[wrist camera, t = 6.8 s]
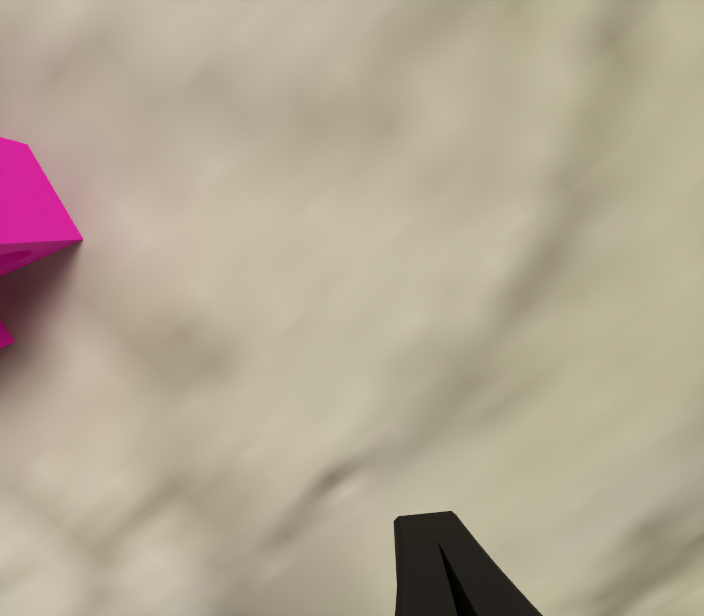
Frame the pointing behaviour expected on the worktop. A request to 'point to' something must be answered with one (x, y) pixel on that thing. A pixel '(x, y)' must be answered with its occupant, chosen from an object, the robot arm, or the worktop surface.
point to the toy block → (28, 214)
